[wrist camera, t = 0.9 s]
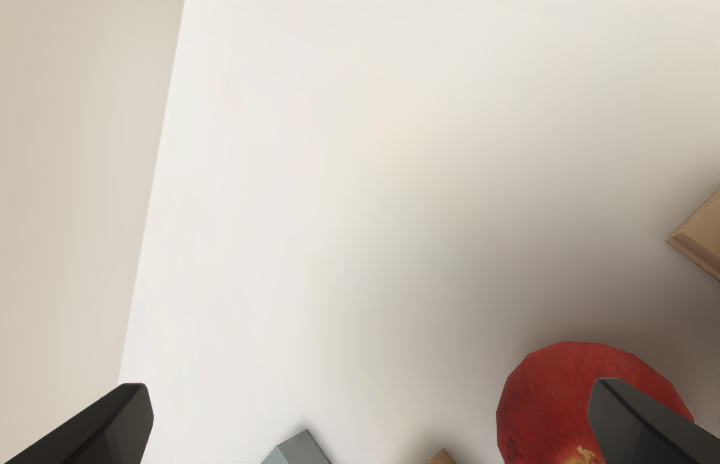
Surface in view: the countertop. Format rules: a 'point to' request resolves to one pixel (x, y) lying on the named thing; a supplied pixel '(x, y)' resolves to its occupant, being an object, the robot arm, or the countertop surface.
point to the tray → (297, 451)
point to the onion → (567, 402)
